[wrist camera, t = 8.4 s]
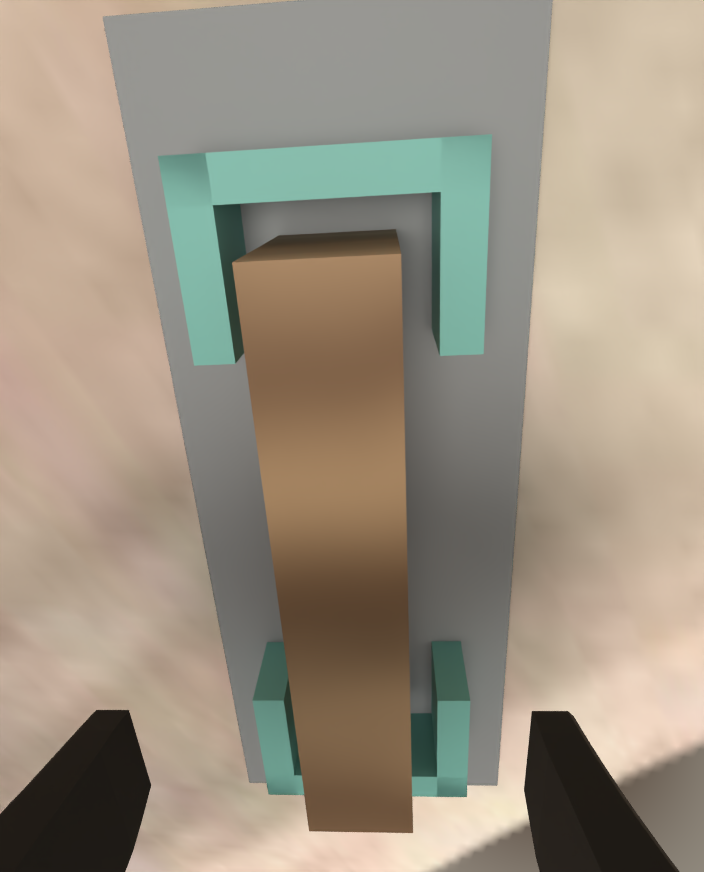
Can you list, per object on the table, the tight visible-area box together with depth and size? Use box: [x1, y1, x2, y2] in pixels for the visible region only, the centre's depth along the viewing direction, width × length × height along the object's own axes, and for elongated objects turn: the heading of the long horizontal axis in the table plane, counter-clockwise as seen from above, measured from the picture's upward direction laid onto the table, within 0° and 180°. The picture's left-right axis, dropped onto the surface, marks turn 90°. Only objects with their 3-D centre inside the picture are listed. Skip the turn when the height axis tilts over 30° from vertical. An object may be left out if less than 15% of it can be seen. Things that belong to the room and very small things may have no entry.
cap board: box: [103, 0, 553, 797], centre depth 17 cm, size 26×10×4 cm, turn 3°
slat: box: [232, 229, 413, 833], centre depth 16 cm, size 16×3×5 cm, turn 3°
